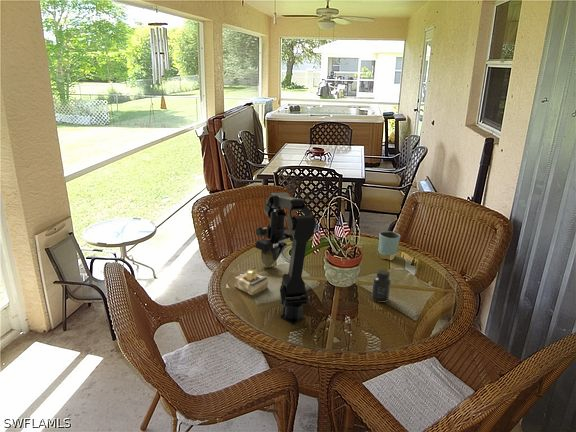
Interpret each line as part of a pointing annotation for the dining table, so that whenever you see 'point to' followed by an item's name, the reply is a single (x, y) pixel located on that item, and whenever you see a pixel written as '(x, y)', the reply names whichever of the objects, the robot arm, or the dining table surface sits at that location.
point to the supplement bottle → (381, 286)
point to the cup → (267, 258)
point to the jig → (251, 284)
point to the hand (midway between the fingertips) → (275, 260)
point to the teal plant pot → (388, 242)
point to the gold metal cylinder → (251, 275)
